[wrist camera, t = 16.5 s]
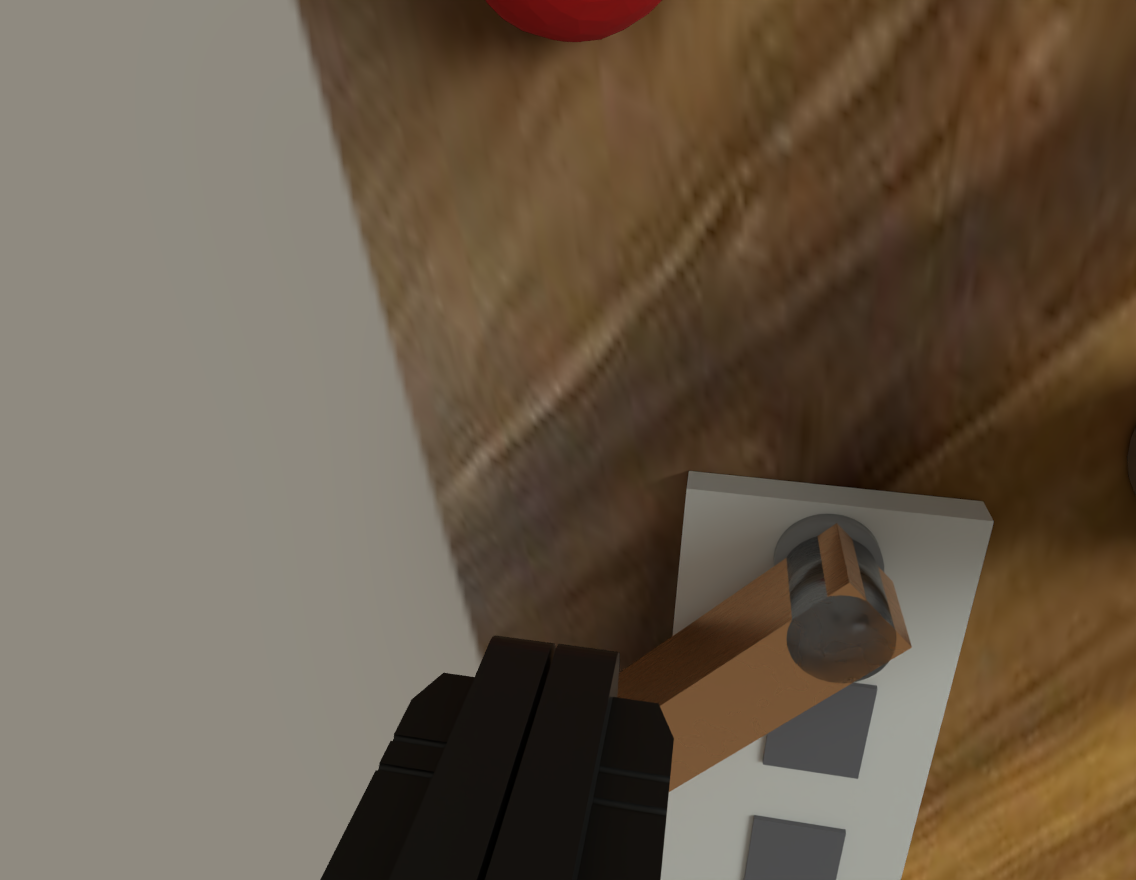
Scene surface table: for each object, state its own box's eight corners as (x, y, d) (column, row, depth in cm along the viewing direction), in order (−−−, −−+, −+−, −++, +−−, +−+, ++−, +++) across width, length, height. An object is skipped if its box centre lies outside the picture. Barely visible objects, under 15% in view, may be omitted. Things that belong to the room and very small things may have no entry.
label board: (983, 501, 42) (999, 532, 39) (880, 909, 53) (887, 954, 51) (688, 470, 44) (685, 498, 41) (650, 869, 56) (645, 911, 53)
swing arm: (899, 582, 41) (919, 648, 36) (518, 824, 51) (496, 898, 47) (837, 517, 40) (850, 576, 35) (463, 776, 50) (436, 847, 46)
